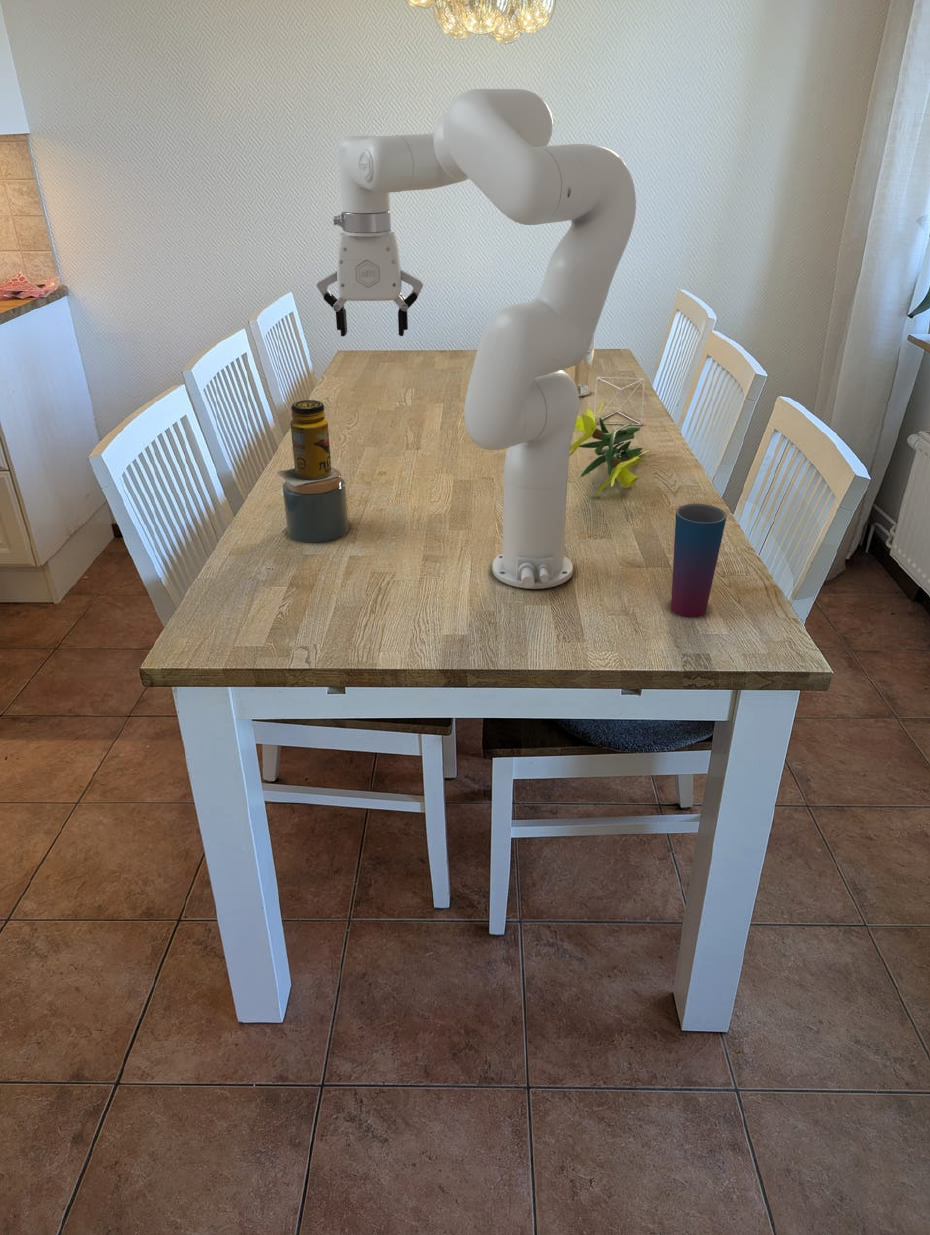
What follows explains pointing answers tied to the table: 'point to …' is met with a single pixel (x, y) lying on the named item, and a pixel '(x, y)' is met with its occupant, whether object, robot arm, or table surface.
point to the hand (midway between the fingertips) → (372, 334)
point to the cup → (695, 556)
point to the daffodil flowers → (611, 454)
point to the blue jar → (316, 510)
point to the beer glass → (582, 372)
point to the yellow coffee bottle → (309, 444)
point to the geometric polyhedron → (616, 395)
